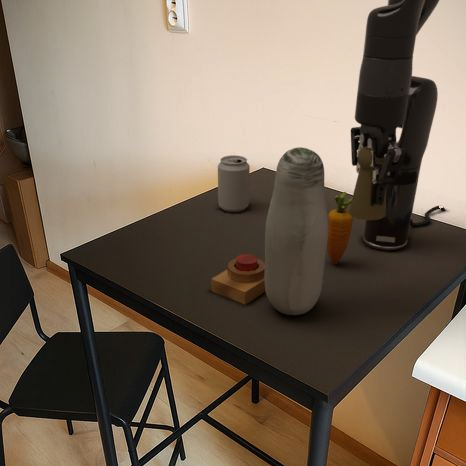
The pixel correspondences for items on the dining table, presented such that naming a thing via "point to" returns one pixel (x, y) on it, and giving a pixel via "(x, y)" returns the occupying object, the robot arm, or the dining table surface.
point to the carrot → (339, 229)
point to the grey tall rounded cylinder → (296, 233)
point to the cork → (366, 190)
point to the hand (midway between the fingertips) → (369, 199)
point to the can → (233, 183)
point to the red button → (246, 262)
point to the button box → (240, 282)
